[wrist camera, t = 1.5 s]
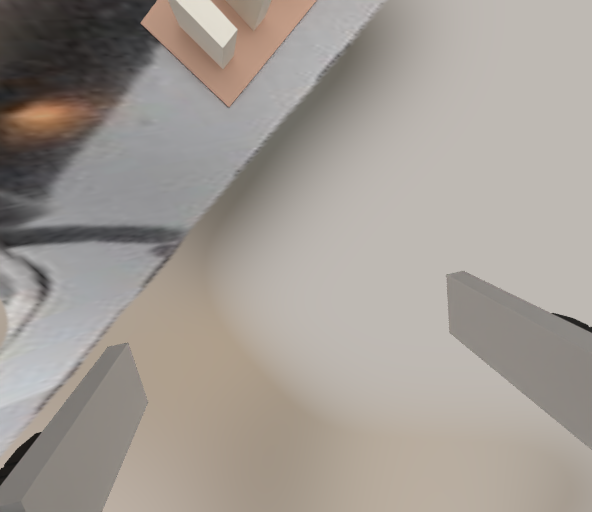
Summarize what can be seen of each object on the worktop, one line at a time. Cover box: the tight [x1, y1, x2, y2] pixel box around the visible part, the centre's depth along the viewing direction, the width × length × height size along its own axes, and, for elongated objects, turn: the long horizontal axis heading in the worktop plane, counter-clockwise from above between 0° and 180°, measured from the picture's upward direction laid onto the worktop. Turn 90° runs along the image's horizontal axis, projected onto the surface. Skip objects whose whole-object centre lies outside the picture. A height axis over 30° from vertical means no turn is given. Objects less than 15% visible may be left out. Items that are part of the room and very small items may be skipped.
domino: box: [168, 0, 238, 69], centre depth 28 cm, size 2×5×10 cm, turn 47°
